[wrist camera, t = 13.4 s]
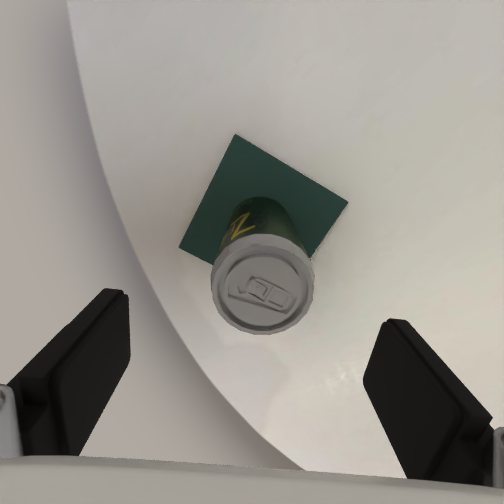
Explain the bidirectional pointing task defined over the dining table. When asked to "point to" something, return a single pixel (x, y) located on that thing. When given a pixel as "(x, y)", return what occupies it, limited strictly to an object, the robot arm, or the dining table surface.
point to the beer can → (262, 270)
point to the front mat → (259, 185)
